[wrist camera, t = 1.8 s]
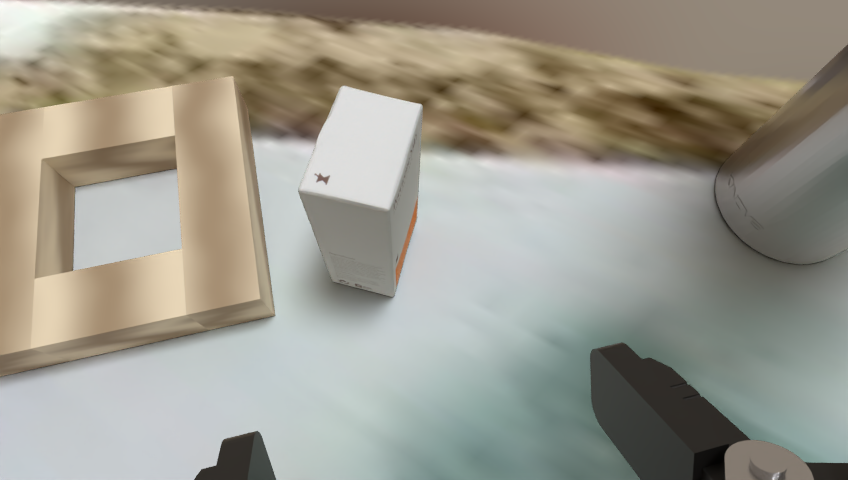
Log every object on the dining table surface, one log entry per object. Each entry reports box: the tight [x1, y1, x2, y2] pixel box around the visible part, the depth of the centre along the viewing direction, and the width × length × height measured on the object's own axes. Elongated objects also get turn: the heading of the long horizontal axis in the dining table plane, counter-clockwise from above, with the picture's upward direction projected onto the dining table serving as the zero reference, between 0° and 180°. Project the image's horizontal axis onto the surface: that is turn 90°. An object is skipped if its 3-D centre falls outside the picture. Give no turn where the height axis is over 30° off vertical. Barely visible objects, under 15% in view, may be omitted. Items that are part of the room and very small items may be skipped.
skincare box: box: [298, 86, 423, 297], centre depth 28 cm, size 6×4×12 cm
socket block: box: [0, 76, 275, 376], centre depth 32 cm, size 16×16×4 cm
